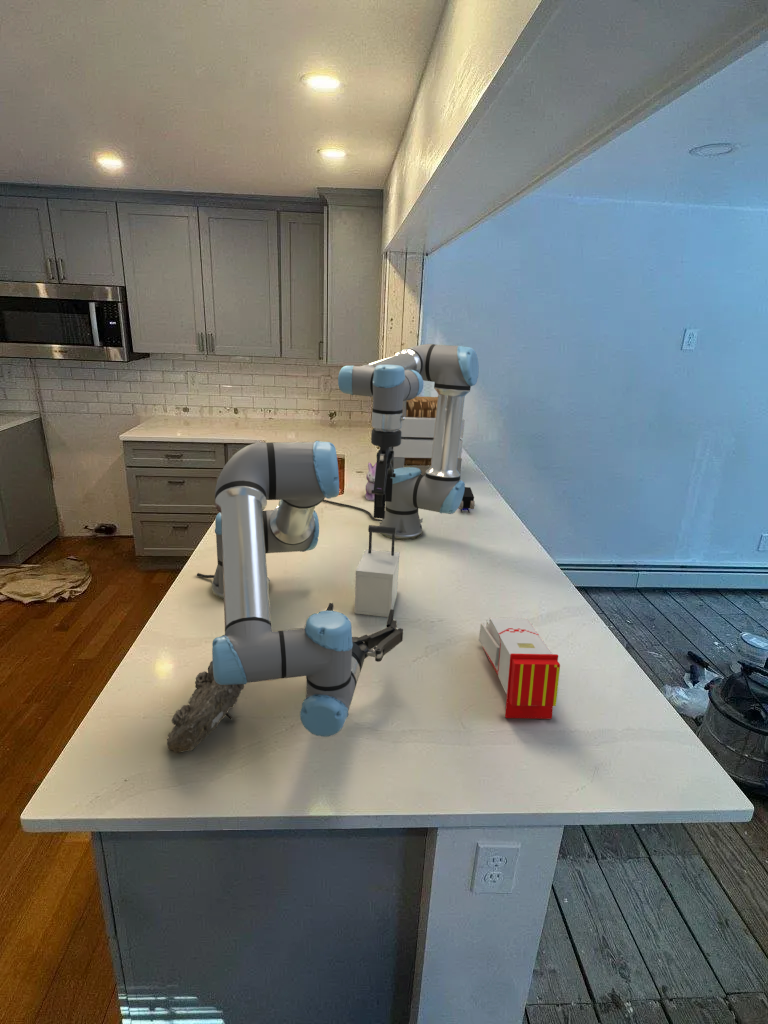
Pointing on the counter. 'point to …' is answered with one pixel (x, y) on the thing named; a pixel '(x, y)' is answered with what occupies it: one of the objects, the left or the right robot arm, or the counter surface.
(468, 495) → the figurine character
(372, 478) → the figurine
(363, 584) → the chest
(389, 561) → the lid
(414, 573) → the counter surface
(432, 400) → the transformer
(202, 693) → the fossil
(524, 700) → the toy
